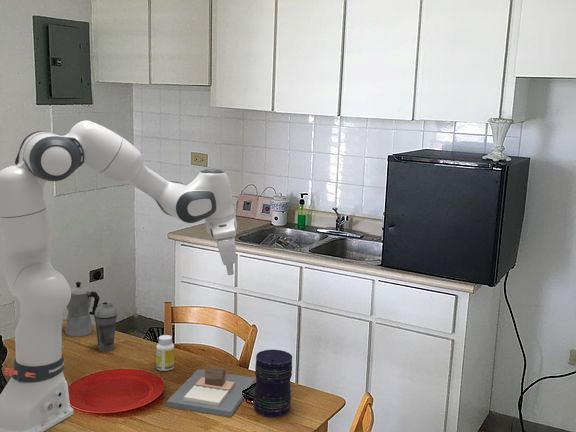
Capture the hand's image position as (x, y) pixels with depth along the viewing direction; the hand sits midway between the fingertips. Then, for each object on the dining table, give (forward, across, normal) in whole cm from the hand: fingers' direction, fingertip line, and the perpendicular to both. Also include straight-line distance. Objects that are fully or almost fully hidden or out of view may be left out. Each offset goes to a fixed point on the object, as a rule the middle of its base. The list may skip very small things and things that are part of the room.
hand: (228, 268), depth 188 cm
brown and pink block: (+29, +15, -10) cm, 34 cm away
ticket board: (+30, +16, -11) cm, 36 cm away
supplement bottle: (+29, -3, -24) cm, 38 cm away
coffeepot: (+26, -35, -52) cm, 68 cm away
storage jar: (+32, +26, +4) cm, 42 cm away
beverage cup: (+27, -20, -42) cm, 54 cm away
